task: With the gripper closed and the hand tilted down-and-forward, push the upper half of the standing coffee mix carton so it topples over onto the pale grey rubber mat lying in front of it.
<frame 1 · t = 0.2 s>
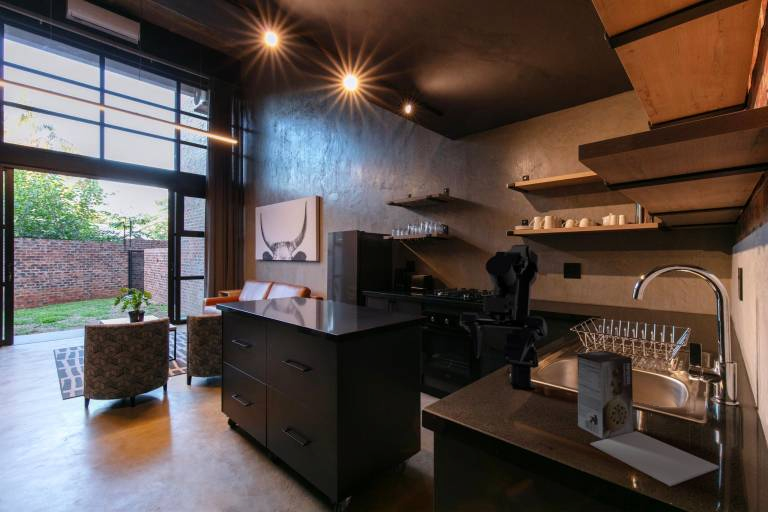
hand: (497, 359, 77), 15 cm above the counter, tool tilted 30°, fingers open, 9 cm apart
grey mat: (650, 455, 66), on the counter
coffee box: (604, 430, 76), on the counter
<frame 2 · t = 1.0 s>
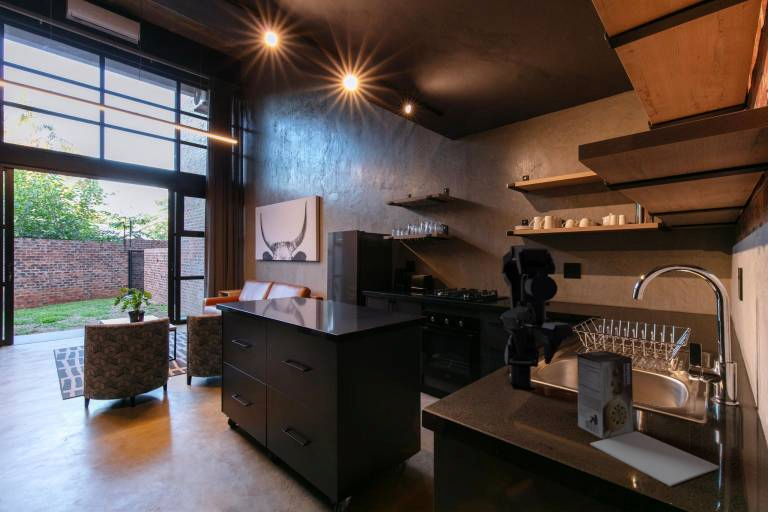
hand: (533, 359, 88), 12 cm above the counter, tool pointing down, fingers open, 8 cm apart
nothing on the counter moved.
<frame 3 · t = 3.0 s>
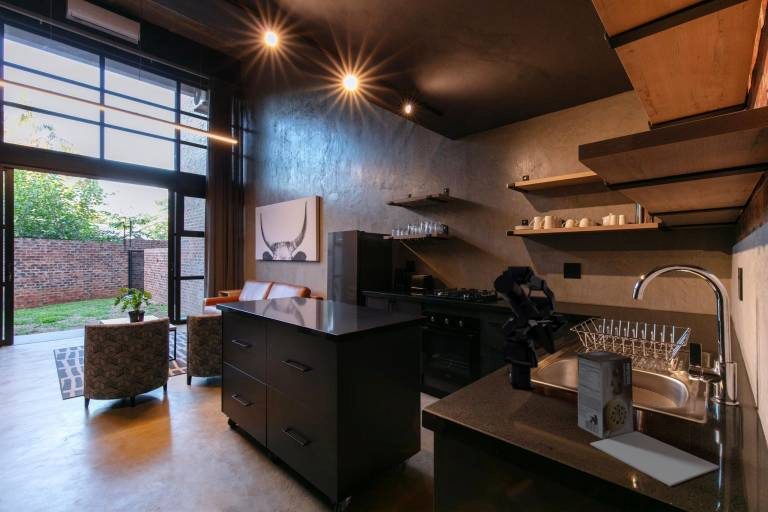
hand: (553, 353, 89), 13 cm above the counter, tool tilted 45°, fingers closed
nothing on the counter moved.
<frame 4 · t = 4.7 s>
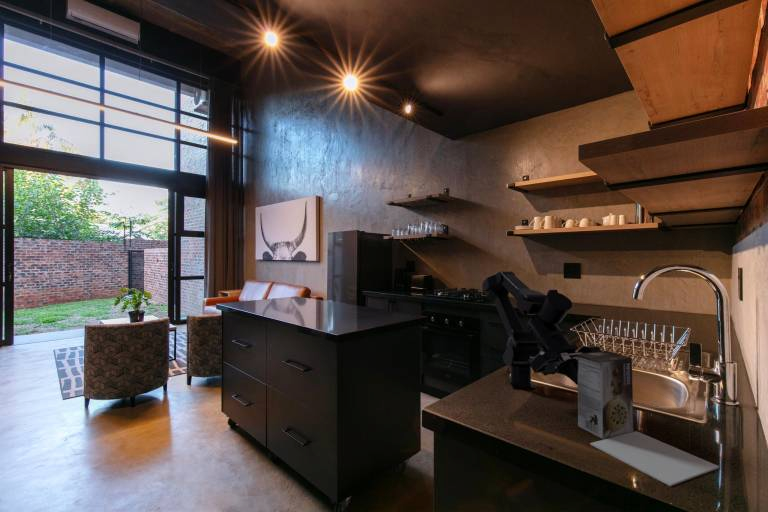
hand: (589, 391, 79), 7 cm above the counter, tool tilted 45°, fingers closed
coffee box: (604, 430, 76), on the counter, touching gripper
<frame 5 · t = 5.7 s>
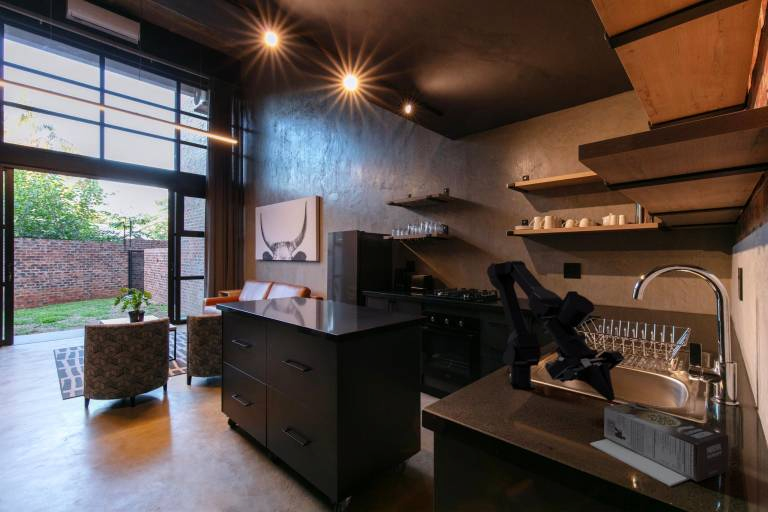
hand: (612, 400, 74), 7 cm above the counter, tool tilted 45°, fingers closed
coffee box: (617, 418, 73), point 4 cm above the counter, touching grey mat
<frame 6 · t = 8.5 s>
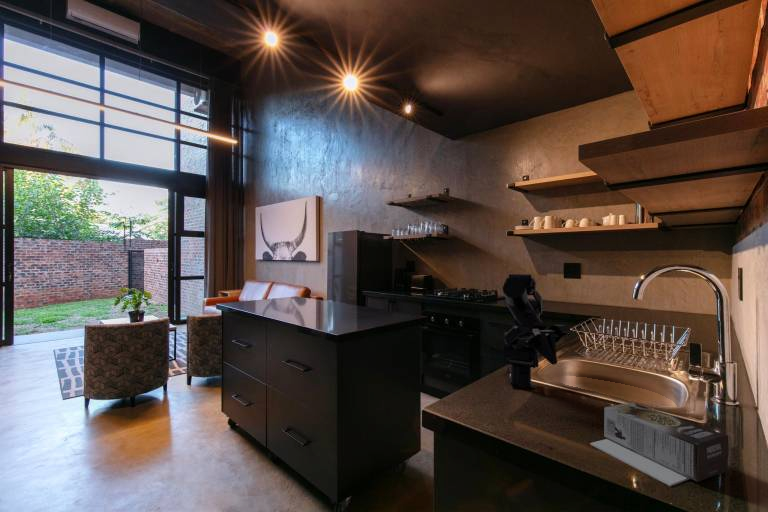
hand: (554, 363, 88), 11 cm above the counter, tool tilted 45°, fingers closed
nothing on the counter moved.
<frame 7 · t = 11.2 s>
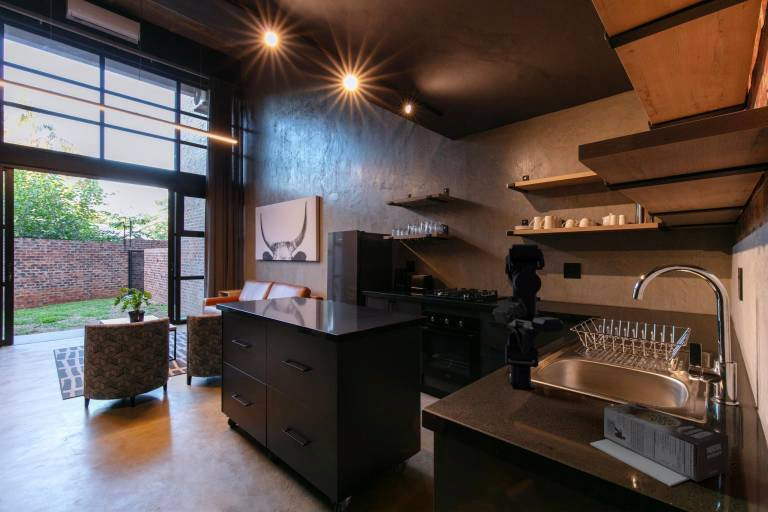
hand: (524, 353, 89), 13 cm above the counter, tool pointing down, fingers closed
nothing on the counter moved.
at the end: coffee box tilted 90°; coffee box touching grey mat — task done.
